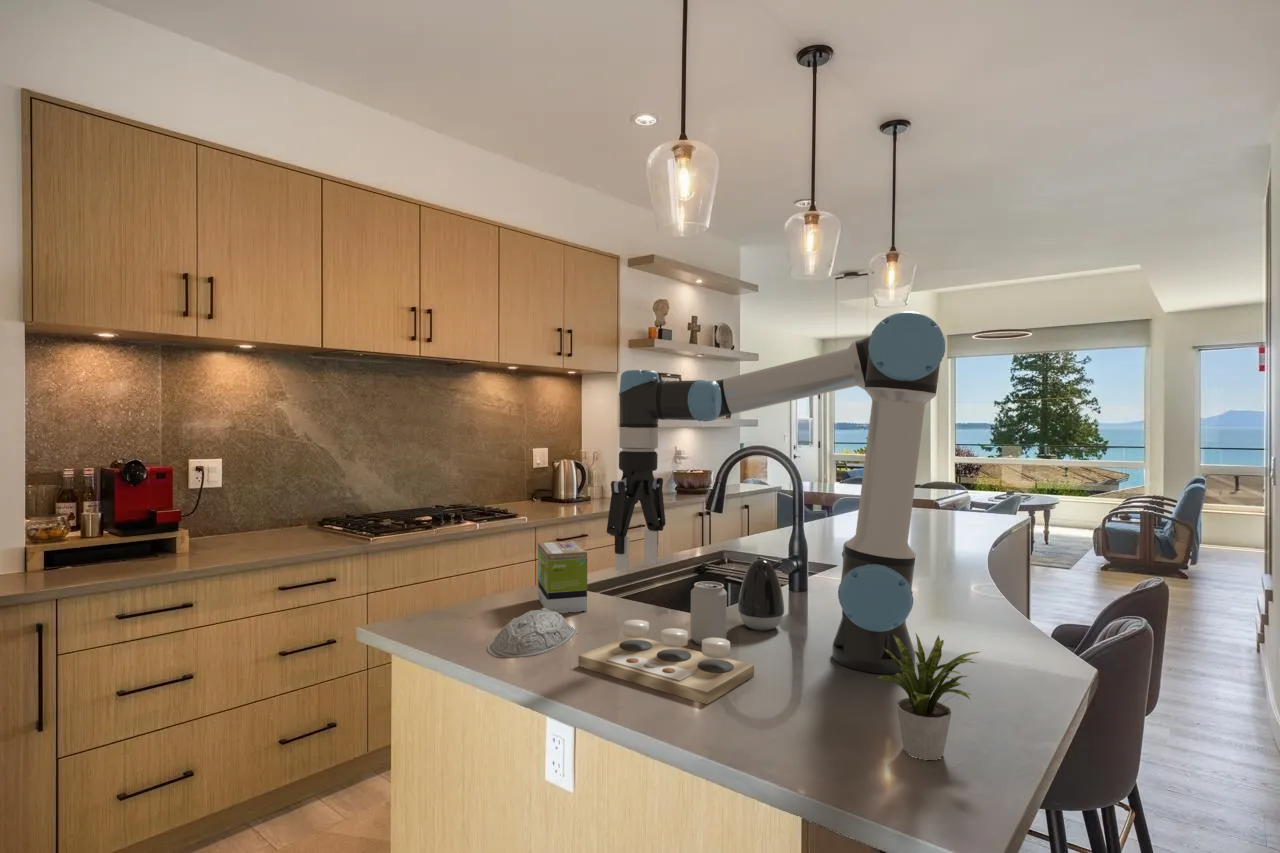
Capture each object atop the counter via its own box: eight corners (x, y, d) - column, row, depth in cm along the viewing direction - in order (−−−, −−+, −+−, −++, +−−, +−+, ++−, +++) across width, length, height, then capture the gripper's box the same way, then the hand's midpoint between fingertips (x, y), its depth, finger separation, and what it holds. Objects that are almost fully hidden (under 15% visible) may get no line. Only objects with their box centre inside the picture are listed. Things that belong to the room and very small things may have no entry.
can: (724, 648, 140) (725, 589, 140) (687, 645, 142) (688, 586, 141) (727, 637, 147) (728, 580, 147) (692, 634, 149) (693, 578, 149)
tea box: (536, 599, 177) (537, 541, 177) (575, 596, 180) (575, 540, 180) (546, 615, 163) (547, 552, 162) (588, 612, 166) (589, 550, 166)
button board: (753, 676, 125) (754, 663, 125) (706, 704, 112) (707, 690, 112) (631, 644, 142) (631, 633, 142) (578, 666, 129) (578, 653, 129)
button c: (653, 633, 135) (654, 622, 135) (638, 639, 131) (638, 628, 131) (633, 628, 138) (633, 618, 138) (617, 634, 134) (617, 623, 134)
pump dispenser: (794, 631, 152) (794, 562, 152) (752, 636, 148) (753, 565, 148) (768, 618, 161) (769, 553, 161) (729, 623, 158) (730, 556, 158)
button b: (692, 642, 130) (692, 631, 130) (677, 649, 126) (677, 638, 126) (670, 637, 133) (670, 626, 133) (655, 643, 129) (655, 632, 129)
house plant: (989, 792, 86) (991, 661, 86) (871, 770, 91) (873, 646, 91) (979, 743, 99) (980, 629, 99) (877, 726, 104) (878, 618, 104)
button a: (735, 652, 124) (735, 641, 124) (720, 659, 120) (720, 648, 120) (711, 646, 127) (711, 635, 127) (696, 653, 123) (696, 642, 123)
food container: (591, 625, 154) (588, 595, 154) (540, 668, 130) (536, 633, 130) (529, 625, 159) (525, 596, 159) (469, 667, 135) (465, 633, 135)
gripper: (654, 448, 145) (653, 556, 145) (587, 450, 128) (586, 573, 128) (684, 449, 140) (683, 561, 141) (618, 452, 124) (617, 579, 124)
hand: (636, 566), depth 134 cm, fingers open, 8 cm apart
